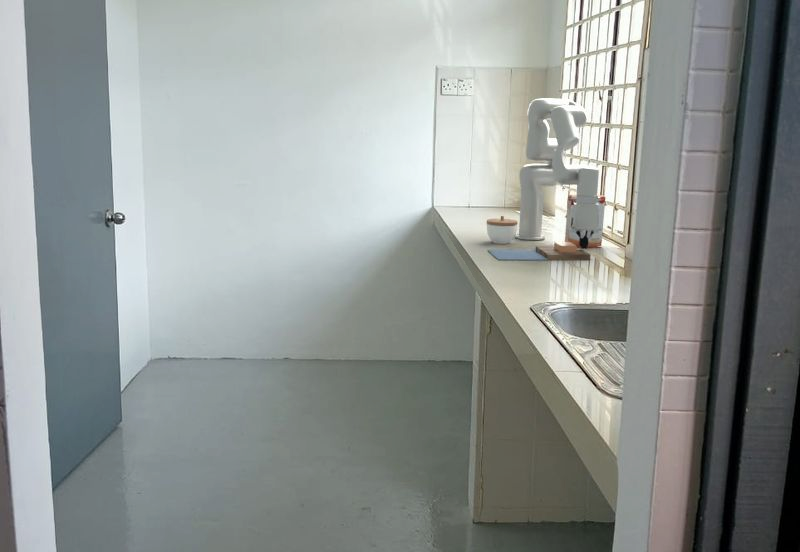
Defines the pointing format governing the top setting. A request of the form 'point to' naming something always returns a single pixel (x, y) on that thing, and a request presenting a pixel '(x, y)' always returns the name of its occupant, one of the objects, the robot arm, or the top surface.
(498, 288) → the top surface
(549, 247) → the board
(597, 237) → the cracker box
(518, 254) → the mat
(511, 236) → the lidded bowl
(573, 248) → the block
